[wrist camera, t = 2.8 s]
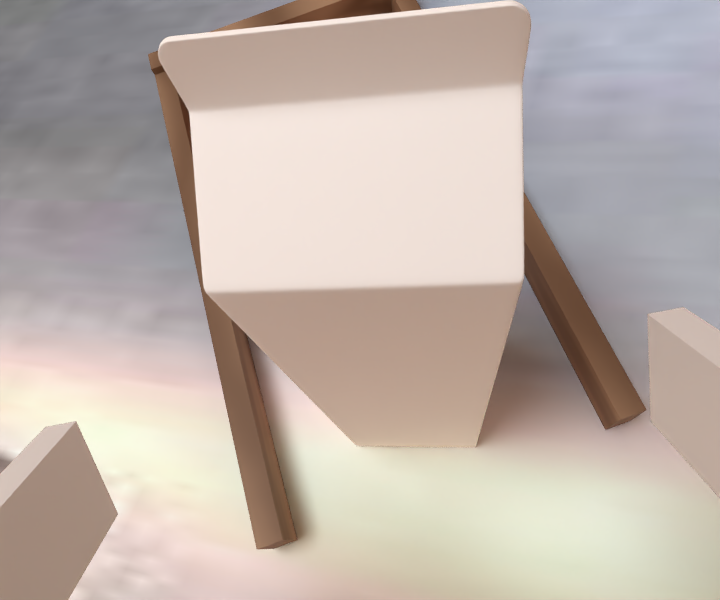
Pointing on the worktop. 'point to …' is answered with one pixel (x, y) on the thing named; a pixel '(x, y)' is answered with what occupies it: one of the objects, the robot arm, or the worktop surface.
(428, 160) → the milk
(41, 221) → the worktop surface
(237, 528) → the worktop surface
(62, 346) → the worktop surface
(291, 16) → the bay
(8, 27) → the worktop surface
